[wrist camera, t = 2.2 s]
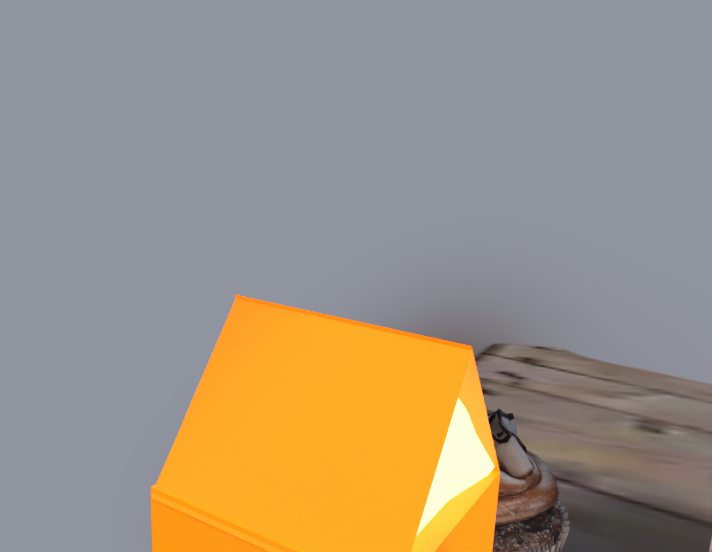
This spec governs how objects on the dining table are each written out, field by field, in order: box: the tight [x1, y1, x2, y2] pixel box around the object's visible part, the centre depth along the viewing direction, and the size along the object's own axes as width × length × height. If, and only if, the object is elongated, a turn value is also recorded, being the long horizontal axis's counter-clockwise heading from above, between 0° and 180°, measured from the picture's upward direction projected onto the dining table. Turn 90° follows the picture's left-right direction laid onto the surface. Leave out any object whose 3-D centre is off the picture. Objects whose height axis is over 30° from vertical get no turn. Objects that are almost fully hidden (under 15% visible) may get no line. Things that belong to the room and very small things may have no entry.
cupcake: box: [487, 409, 570, 552], centre depth 38 cm, size 10×10×10 cm
